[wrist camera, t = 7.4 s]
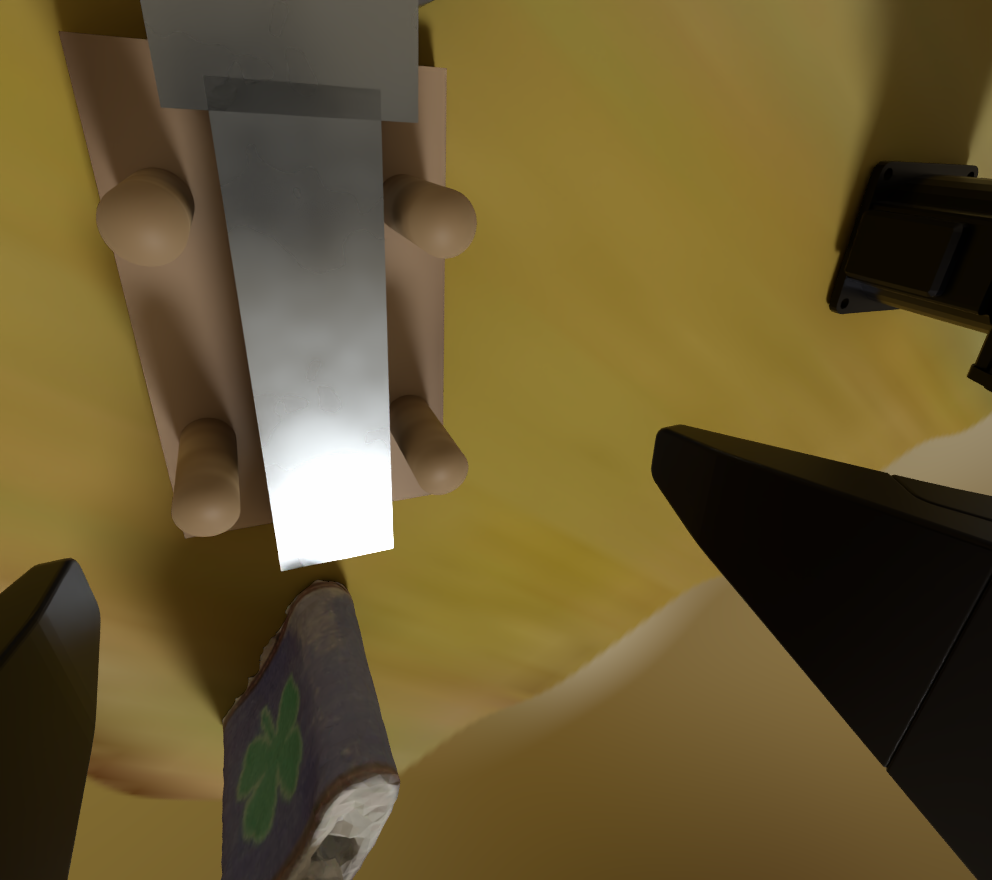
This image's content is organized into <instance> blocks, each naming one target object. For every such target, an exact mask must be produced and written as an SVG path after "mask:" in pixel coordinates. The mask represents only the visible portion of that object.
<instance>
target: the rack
mask: <svg viewBox="0 0 992 880" xmlns="http://www.w3.org/2000/svg"><path fill="white" fill-rule="evenodd" d="M59 35H60V39H61V43H62V47H63V51H64V55H65V59H66V63H67V67H68V71H69V75H70V79H71V83H72V87H73V91H74V95H75V99H76V103H77V107H78V111H79V115H80V119H81V123H82V127H83V131H84V135H85V139H86V143H87V147H88V151H89V156H90V160H91V164H92V168H93V172H94V176H95V180H96V184H97V188H98V192H99V196H100V202H99V204H98V207H97V213H96V221H97V227H98V230H99V232H100V235H101V237H102V238H103V240H104V242H105V243H106V244H107V245H108V247H109V248H110V249H111V250H112V251H113V252H114V256H115V260H116V264H117V268H118V272H119V276H120V280H121V284H122V288H123V292H124V296H125V300H126V304H127V308H128V312H129V316H130V320H131V324H132V328H133V332H134V336H135V340H136V344H137V348H138V352H139V356H140V360H141V364H142V368H143V372H144V376H145V380H146V384H147V388H148V392H149V396H150V400H151V405H152V409H153V413H154V417H155V421H156V425H157V429H158V433H159V437H160V441H161V445H162V449H163V453H164V457H165V461H166V465H167V469H168V473H169V477H170V481H171V485H172V489H173V501H172V509H171V514H172V519H173V521H174V523H175V524H176V526H177V527H178V528H179V529H181V530H182V531H183V533H184V537H185V538H191V537H196V536H199V537H209V536H215V535H218V534H221V533H223V532H225V531H230V530H235V529H241V528H246V527H252V526H258V525H263V524H269V523H273V516H272V510H271V504H270V497H269V491H268V485H267V478H266V472H265V466H264V459H263V453H262V447H261V440H260V434H259V428H258V421H257V415H256V409H255V402H254V396H253V390H252V383H251V377H250V371H249V364H248V358H247V352H246V345H245V339H244V333H243V326H242V320H241V314H240V307H239V301H238V295H237V288H236V282H235V276H234V269H233V263H232V257H231V250H230V244H229V238H228V231H227V225H226V219H225V212H224V206H223V199H222V193H221V187H220V180H219V174H218V168H217V161H216V155H215V149H214V142H213V136H212V130H211V123H210V117H209V111H208V110H192V109H175V108H161V106H160V101H159V96H158V91H157V85H156V80H155V75H154V70H153V65H152V60H151V54H150V49H149V44H148V40H146V39H135V38H125V37H115V36H104V35H94V34H83V33H73V32H63V31H59ZM446 74H447V68H437V67H427V66H418V123H410V122H393V121H381V130H382V166H383V201H384V237H385V273H386V309H387V345H388V380H389V416H390V452H391V488H392V501H397V500H403V499H408V498H414V497H420V496H425V495H431V494H433V495H442V494H447V493H449V492H451V491H453V490H455V489H456V488H458V487H459V486H460V485H461V484H462V483H463V481H464V480H465V478H466V476H467V472H468V462H467V459H466V457H465V456H464V455H463V453H462V452H461V450H460V449H459V448H458V446H457V445H456V443H455V442H454V441H453V439H452V438H451V436H450V435H449V434H448V432H447V431H446V429H445V428H444V427H443V369H444V271H445V258H452V257H455V256H457V255H459V254H461V253H462V252H464V251H465V250H466V249H467V248H468V246H469V245H470V244H471V242H472V240H473V238H474V235H475V232H476V225H477V222H476V214H475V211H474V208H473V206H472V204H471V203H470V201H469V200H468V199H467V198H466V197H465V196H464V195H463V194H461V193H460V192H458V191H456V190H453V189H450V188H447V187H445V172H446Z"/></svg>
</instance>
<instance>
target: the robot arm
mask: <svg viewBox="0 0 992 880" xmlns="http://www.w3.org/2000/svg"><path fill="white" fill-rule="evenodd" d="M977 176H978V168H977V166H973V165H956V164H936V163H917V162H897V161H881V162H879V163H878V164H877V165H876V166H875V167H874V169H873V171H872V173H871V176H870V180H869V183H868V186H867V189H866V192H865V195H864V198H863V201H862V204H861V207H860V210H859V214H858V217H857V220H856V223H855V226H854V229H853V232H852V235H851V238H850V241H849V244H848V247H847V251H846V254H845V257H844V260H843V263H842V266H841V269H840V272H839V275H838V278H837V281H836V284H835V288H834V291H833V294H832V297H831V300H830V304H829V308H830V310H831V311H832V312H836V313H839V314H847V313H859V312H871V311H883V310H894V309H903V310H906V311H910V312H913V313H917V314H920V315H924V316H927V317H931V318H934V319H937V320H941V321H944V322H948V323H951V324H955V325H958V326H962V327H965V328H969V329H972V330H976V331H979V332H983V333H986V334H987V336H986V339H985V341H984V343H983V346H982V348H981V350H980V353H979V355H978V357H977V360H976V362H975V364H972V365H971V367H970V370H969V372H968V374H967V377H968V378H969V379H971V380H973V381H975V382H977V383H979V384H981V385H982V386H984V388H985V389H987V390H989V391H991V392H992V179H987V178H977ZM651 472H652V476H653V479H654V481H655V483H656V484H657V486H658V487H659V489H660V490H661V492H662V493H663V495H664V496H665V498H666V499H667V500H668V502H669V503H670V505H671V506H672V508H673V509H674V511H675V512H676V514H677V515H678V517H679V518H680V520H681V521H682V523H683V524H684V526H685V527H686V528H687V530H688V531H689V533H690V534H691V536H692V537H693V538H694V540H695V541H696V543H697V544H698V545H699V547H700V548H701V549H702V550H703V552H704V553H705V554H706V555H707V557H708V558H709V559H710V560H711V561H712V563H713V564H714V565H715V566H716V567H717V568H718V570H719V571H720V572H721V573H722V574H723V576H724V577H725V578H726V579H727V580H728V582H729V583H730V584H731V585H732V586H733V588H734V589H735V590H736V591H737V592H738V594H739V595H740V596H741V597H742V598H743V600H744V601H745V602H746V603H747V604H748V605H749V607H750V608H751V609H752V610H753V611H754V612H755V614H756V615H757V616H758V617H759V619H760V620H761V621H762V622H763V623H764V624H765V626H766V627H767V628H768V629H769V631H770V632H771V633H772V634H773V635H774V636H775V638H776V639H777V640H778V641H779V642H780V644H781V645H782V646H783V647H784V649H785V650H786V651H787V652H788V653H789V654H790V656H791V657H792V658H793V659H794V660H795V662H796V663H797V664H798V665H799V666H800V668H801V669H802V670H803V671H804V672H805V673H806V675H807V676H808V677H809V678H810V680H811V681H812V682H813V683H814V684H815V686H816V687H817V688H818V689H819V690H820V692H821V693H822V694H823V695H824V696H825V697H826V699H827V700H828V701H829V702H830V704H831V705H832V706H833V707H834V708H835V710H836V711H837V712H838V713H839V714H840V715H841V717H842V718H843V719H844V720H845V721H846V723H847V724H848V725H849V726H850V727H851V729H852V730H853V731H854V732H855V733H856V735H857V736H858V737H859V738H860V739H861V741H862V742H863V743H864V744H865V745H866V747H867V748H868V749H869V750H870V751H871V752H872V754H873V755H874V756H875V757H876V759H877V760H878V761H879V762H880V763H881V764H882V765H883V767H887V768H886V771H887V772H888V773H889V775H890V776H891V777H892V778H893V779H894V781H895V782H896V783H897V784H898V785H899V787H900V788H901V789H902V790H903V791H904V793H905V794H906V795H907V796H908V797H909V799H910V800H911V801H912V802H913V803H914V804H915V806H916V807H917V808H918V809H919V811H920V812H921V813H922V814H923V815H924V817H925V818H926V819H927V820H928V821H929V823H930V824H931V825H932V826H933V827H934V828H935V830H936V831H937V832H938V833H939V835H940V836H941V837H942V838H943V839H944V841H945V842H946V843H947V844H948V845H949V846H950V848H951V849H952V850H953V851H954V852H955V854H956V855H957V856H958V857H959V858H960V860H961V861H962V862H963V863H964V864H965V866H966V867H967V868H968V869H969V870H970V871H971V873H972V874H973V875H974V876H975V878H976V879H977V880H992V496H989V495H984V494H979V493H974V492H969V491H964V490H959V489H954V488H950V487H946V486H941V485H937V484H933V483H928V482H923V481H919V480H915V479H911V478H906V477H902V476H898V475H892V476H891V475H889V474H888V473H885V472H881V471H876V470H872V469H868V468H864V467H859V466H855V465H851V464H847V463H843V462H838V461H834V460H830V459H826V458H821V457H817V456H813V455H809V454H804V453H800V452H796V451H792V450H787V449H783V448H779V447H775V446H771V445H766V444H762V443H758V442H754V441H749V440H745V439H741V438H737V437H732V436H728V435H724V434H720V433H716V432H711V431H707V430H703V429H699V428H694V427H690V426H686V425H674V426H669V427H665V428H662V429H660V430H659V431H658V433H657V435H656V439H655V446H654V452H653V459H652V466H651ZM99 643H100V612H99V607H98V604H97V602H96V599H95V597H94V595H93V593H92V591H91V589H90V586H89V584H88V582H87V580H86V578H85V575H84V573H83V571H82V569H81V567H80V565H79V564H78V563H77V561H76V560H74V559H72V558H65V559H61V560H56V561H51V562H47V563H42V564H38V565H36V566H34V567H32V568H31V569H30V570H28V571H27V572H26V573H25V574H24V575H22V576H21V577H20V578H19V579H17V580H16V581H15V582H14V583H13V584H11V585H10V586H9V587H8V588H7V589H5V590H4V591H3V592H2V593H0V880H67V879H68V874H69V868H70V863H71V858H72V852H73V846H74V841H75V836H76V830H77V825H78V819H79V814H80V809H81V803H82V798H83V792H84V787H85V782H86V776H87V771H88V766H89V760H90V755H91V749H92V743H93V737H94V730H95V720H96V705H97V685H98V664H99Z"/></svg>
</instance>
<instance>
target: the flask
mask: <svg viewBox="0 0 992 880" xmlns="http://www.w3.org/2000/svg"><path fill="white" fill-rule="evenodd" d="M335 583H336V584H335ZM337 584H338V585H337ZM339 585H340V586H342V587H343V588H344V589H345V590H344V589H343V588H342V587H340V586H339ZM285 613H286V614H287V619H286V621H285V622H284V623H283V625H282V626H281V628H280V630H279V631H278V632H276V635H275V637H272V638H271V639H270V641H269V644H268V645H267V646H265V647H263V648H264V651H263V653H262V654H261V655H260V659H261V660H259V661H262V662H260V664H259V665H260V668H259V669H260V670H259V671H258V673H257V674H256V675H255V677H250V678H248V680H249V681H248V688H247V689H246V691H245V693H244V694H242V695H241V696H240V697H239V698H236V699H235V700H236V701H235V703H234V705H233V706H232V708H231V709H230V710H229V711H228V713H227V715H226V716H225V717H224V718H223V721H222V722H223V734H224V741H223V742H224V768H223V776H224V790H223V814H222V822H223V833H222V838H223V843H222V862H221V863H222V878H221V880H352V879H353V877H354V876H355V874H356V873H357V871H358V870H359V869H360V868H361V866H362V863H363V861H364V859H365V858H366V856H367V855H368V853H369V851H370V850H371V849H372V847H373V846H374V844H375V842H376V840H377V838H378V836H379V834H380V832H381V829H382V827H383V825H384V824H385V822H386V820H387V818H388V817H389V815H390V813H391V812H392V808H393V805H394V802H395V801H396V799H397V796H398V791H399V786H400V779H399V776H398V772H397V768H396V765H395V762H394V759H393V757H392V753H391V749H390V745H389V741H388V737H387V733H386V729H385V726H384V723H383V720H382V717H381V712H380V707H379V703H378V699H377V695H376V692H375V688H374V684H373V681H372V677H371V674H370V671H369V667H368V663H367V659H366V655H365V652H364V647H363V642H362V637H361V633H360V629H359V625H358V621H357V618H356V615H355V609H354V604H353V601H352V598H351V595H350V593H349V591H348V590H347V589H346V588H345V587H344V586H343V584H340V583H339V582H332V581H329V582H327V581H322V580H316V581H314V582H313V583H312V584H311V585H310V586H309V587H308V588H306V589H305V590H303V592H301V593H300V594H299V595H298V596H296V598H295V599H294V601H293V602H291V604H290V605H289V606H288V607H287V610H286V611H285Z"/></svg>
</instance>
